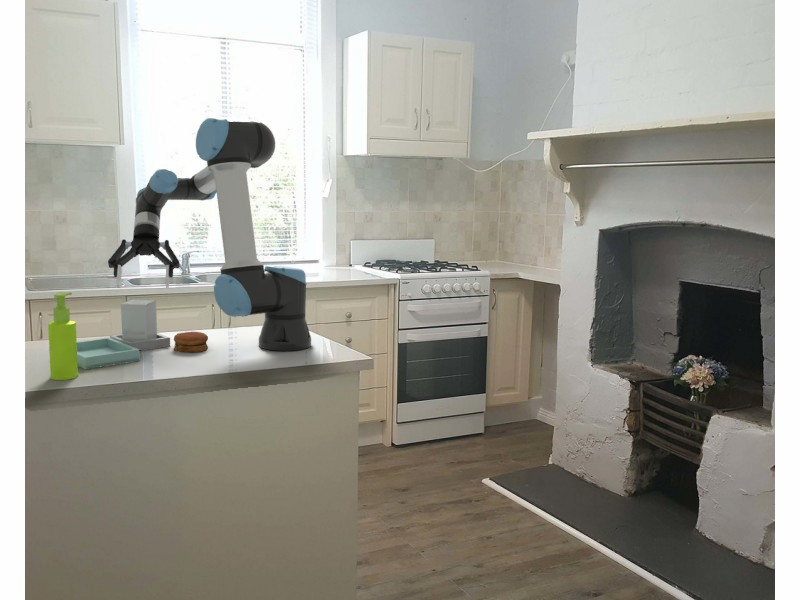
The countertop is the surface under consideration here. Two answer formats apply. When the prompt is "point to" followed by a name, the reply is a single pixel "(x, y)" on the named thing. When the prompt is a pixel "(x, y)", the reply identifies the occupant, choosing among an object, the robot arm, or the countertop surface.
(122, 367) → the countertop surface
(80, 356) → the tray
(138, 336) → the supplement box
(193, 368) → the countertop surface
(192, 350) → the burger
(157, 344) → the holder
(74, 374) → the soap dispenser
